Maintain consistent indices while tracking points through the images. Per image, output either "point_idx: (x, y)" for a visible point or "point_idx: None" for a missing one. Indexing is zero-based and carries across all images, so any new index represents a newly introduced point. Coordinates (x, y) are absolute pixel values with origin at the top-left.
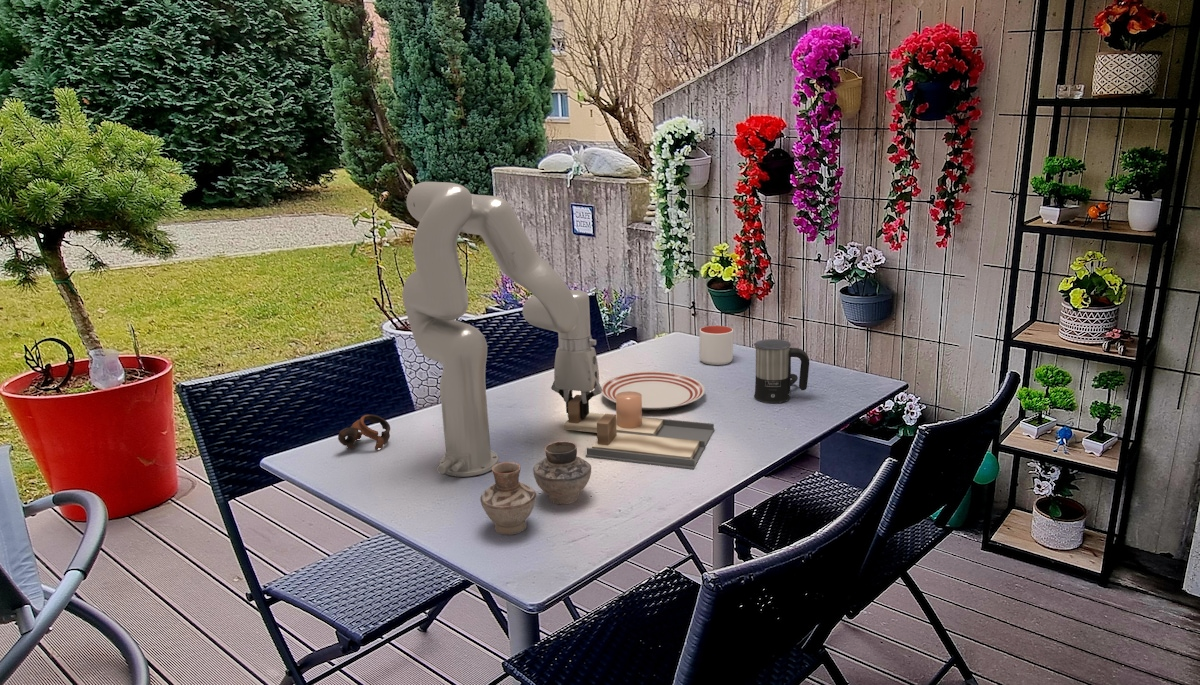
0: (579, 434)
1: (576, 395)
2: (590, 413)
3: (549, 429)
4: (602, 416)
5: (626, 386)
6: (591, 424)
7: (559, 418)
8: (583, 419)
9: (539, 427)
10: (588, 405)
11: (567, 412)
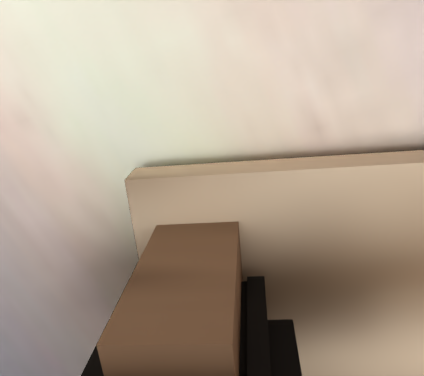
0: None
1: (113, 373)
2: (255, 190)
3: (78, 346)
4: (380, 222)
5: None
6: (344, 371)
7: (25, 185)
8: None
9: (12, 336)
10: (300, 374)
11: None
